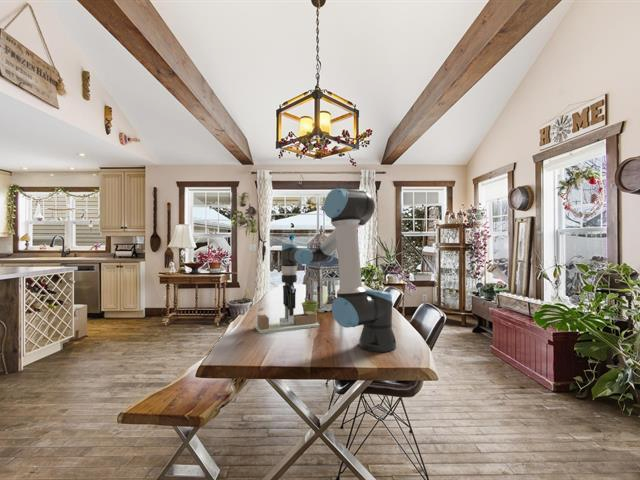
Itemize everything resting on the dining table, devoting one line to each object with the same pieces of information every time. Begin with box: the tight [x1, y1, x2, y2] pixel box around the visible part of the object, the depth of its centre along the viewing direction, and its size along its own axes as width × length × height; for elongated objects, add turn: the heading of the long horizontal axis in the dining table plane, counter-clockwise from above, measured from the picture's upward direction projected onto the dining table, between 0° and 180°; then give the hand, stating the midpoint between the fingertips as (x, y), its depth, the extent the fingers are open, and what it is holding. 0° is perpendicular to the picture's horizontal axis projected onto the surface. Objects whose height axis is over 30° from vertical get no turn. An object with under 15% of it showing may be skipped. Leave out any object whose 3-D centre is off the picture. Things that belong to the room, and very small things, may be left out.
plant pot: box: [301, 301, 319, 315], centre depth 188 cm, size 9×9×9 cm
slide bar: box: [279, 306, 300, 326], centre depth 172 cm, size 3×17×9 cm, turn 114°
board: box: [254, 311, 320, 335], centre depth 170 cm, size 12×30×6 cm, turn 114°
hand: (289, 320), depth 171 cm, fingers open, 4 cm apart
